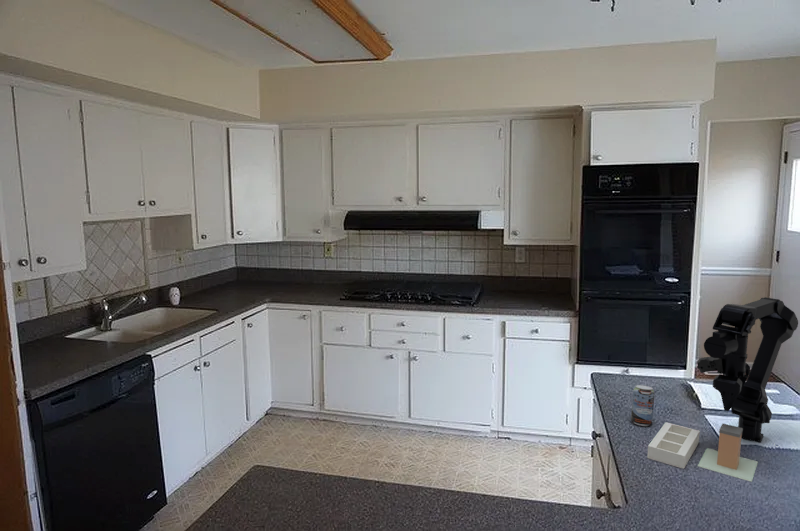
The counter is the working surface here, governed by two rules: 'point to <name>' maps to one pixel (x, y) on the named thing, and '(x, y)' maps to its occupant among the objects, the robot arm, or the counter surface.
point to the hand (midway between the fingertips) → (729, 405)
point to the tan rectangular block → (729, 446)
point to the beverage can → (642, 405)
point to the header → (673, 445)
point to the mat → (742, 472)
